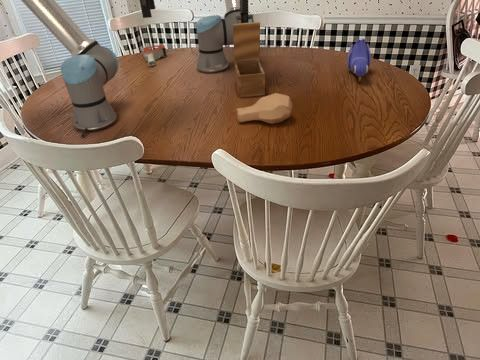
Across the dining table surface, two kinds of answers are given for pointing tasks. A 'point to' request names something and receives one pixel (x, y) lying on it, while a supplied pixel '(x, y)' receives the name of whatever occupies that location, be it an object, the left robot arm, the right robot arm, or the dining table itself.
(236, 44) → the lid
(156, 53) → the tape dispenser
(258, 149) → the dining table surface
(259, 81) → the wooden box
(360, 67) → the toy
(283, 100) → the squash
